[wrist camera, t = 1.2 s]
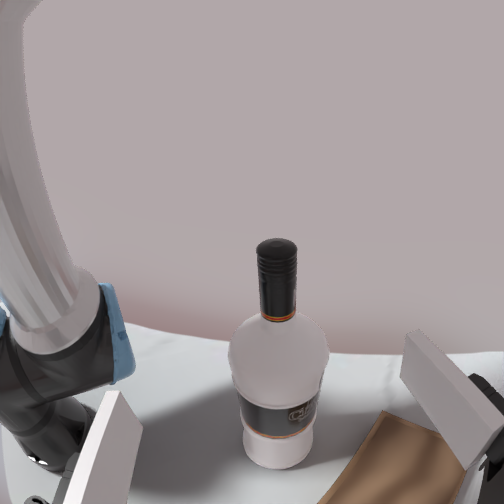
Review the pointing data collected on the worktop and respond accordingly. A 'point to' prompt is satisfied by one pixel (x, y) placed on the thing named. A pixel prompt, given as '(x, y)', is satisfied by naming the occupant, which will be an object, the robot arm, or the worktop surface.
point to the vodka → (278, 364)
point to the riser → (399, 467)
